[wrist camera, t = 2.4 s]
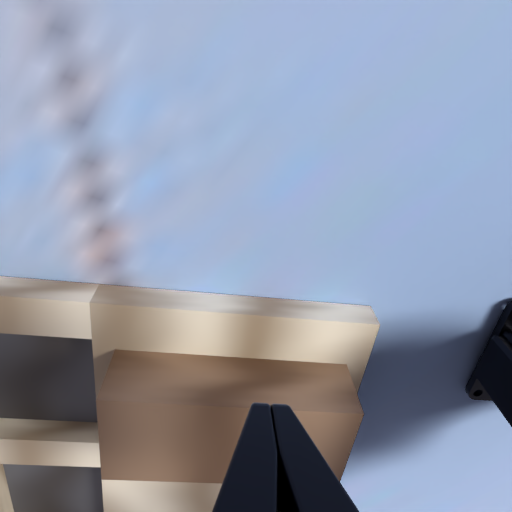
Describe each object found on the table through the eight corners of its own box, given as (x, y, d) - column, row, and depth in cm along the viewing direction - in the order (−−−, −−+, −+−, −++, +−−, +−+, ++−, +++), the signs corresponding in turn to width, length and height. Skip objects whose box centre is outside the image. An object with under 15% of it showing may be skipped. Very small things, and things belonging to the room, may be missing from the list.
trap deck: (370, 305, 20) (380, 324, 19) (294, 550, 31) (297, 574, 29) (-64, 271, 18) (-87, 289, 17) (9, 546, 28) (-2, 571, 27)
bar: (346, 364, 20) (364, 414, 18) (325, 434, 22) (338, 487, 20) (114, 349, 19) (96, 400, 16) (117, 424, 21) (101, 479, 19)
